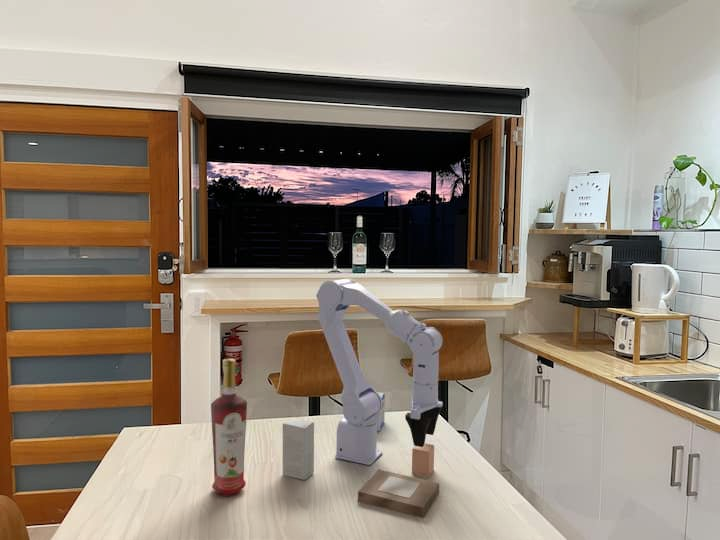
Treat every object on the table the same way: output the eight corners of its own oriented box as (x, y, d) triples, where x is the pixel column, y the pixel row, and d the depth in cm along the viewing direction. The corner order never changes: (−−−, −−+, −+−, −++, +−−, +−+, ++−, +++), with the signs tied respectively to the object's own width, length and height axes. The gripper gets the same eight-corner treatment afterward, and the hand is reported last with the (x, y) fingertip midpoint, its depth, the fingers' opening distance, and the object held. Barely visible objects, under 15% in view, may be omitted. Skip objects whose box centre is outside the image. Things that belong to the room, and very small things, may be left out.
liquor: (215, 502, 105) (215, 366, 103) (207, 486, 111) (207, 357, 109) (250, 494, 108) (251, 362, 106) (241, 479, 115) (242, 354, 113)
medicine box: (380, 431, 144) (380, 401, 143) (364, 430, 145) (364, 399, 144) (384, 421, 151) (385, 392, 151) (369, 420, 152) (370, 391, 152)
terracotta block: (411, 473, 119) (412, 448, 119) (417, 466, 123) (417, 442, 122) (428, 477, 118) (429, 451, 117) (433, 470, 121) (434, 445, 121)
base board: (357, 500, 107) (357, 490, 107) (378, 477, 117) (378, 468, 117) (423, 517, 101) (423, 507, 101) (438, 492, 111) (439, 482, 111)
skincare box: (314, 473, 119) (315, 421, 118) (304, 481, 115) (305, 428, 114) (291, 467, 121) (292, 417, 120) (281, 475, 117) (281, 423, 116)
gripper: (433, 392, 110) (431, 455, 111) (450, 376, 124) (449, 431, 125) (401, 388, 113) (400, 448, 114) (422, 372, 126) (421, 426, 128)
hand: (424, 439), depth 120 cm, fingers open, 7 cm apart
